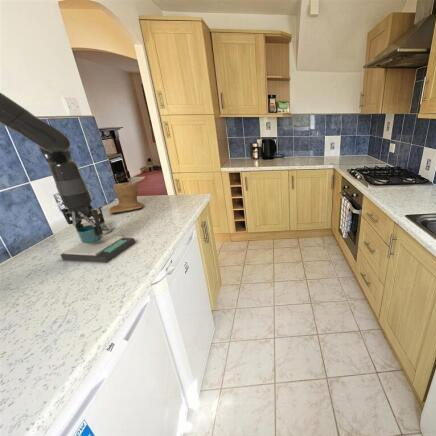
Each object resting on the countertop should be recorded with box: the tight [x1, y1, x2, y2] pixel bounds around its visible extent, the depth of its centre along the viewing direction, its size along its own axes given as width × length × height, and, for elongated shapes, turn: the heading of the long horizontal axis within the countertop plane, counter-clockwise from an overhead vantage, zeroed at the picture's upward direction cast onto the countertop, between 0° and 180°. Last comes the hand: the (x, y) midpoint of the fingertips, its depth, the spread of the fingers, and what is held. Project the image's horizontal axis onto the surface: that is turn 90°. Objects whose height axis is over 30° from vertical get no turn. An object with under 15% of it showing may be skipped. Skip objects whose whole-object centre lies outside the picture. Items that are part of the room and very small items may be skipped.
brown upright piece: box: [108, 182, 144, 214], centre depth 131 cm, size 15×12×15 cm
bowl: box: [76, 225, 104, 244], centre depth 90 cm, size 6×6×5 cm
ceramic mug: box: [81, 216, 112, 235], centre depth 106 cm, size 11×8×8 cm
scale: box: [60, 235, 136, 263], centre depth 92 cm, size 18×14×3 cm
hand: (91, 234), depth 90 cm, fingers closed on bowl, 6 cm apart
